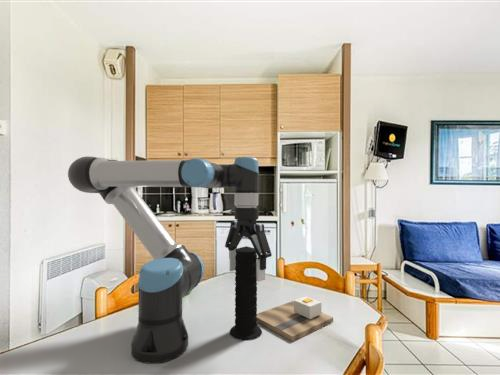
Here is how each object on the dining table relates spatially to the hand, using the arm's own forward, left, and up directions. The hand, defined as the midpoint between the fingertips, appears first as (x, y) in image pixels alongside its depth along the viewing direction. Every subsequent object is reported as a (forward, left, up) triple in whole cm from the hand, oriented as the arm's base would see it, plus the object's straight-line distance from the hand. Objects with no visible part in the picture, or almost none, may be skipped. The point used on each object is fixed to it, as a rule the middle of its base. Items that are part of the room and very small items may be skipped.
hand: (246, 275), depth 87 cm
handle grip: (0, 0, -18) cm, 18 cm away
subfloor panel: (+17, -4, -18) cm, 25 cm away
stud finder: (+22, -6, -16) cm, 28 cm away
